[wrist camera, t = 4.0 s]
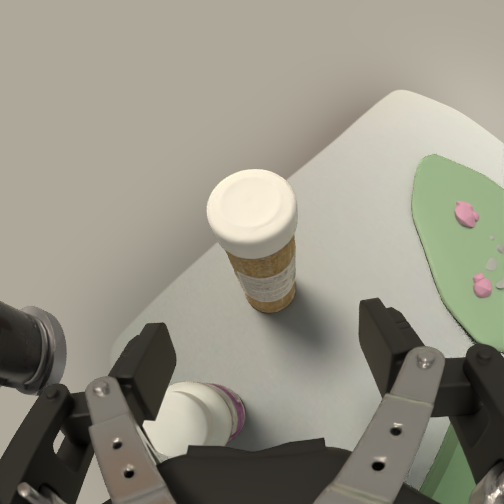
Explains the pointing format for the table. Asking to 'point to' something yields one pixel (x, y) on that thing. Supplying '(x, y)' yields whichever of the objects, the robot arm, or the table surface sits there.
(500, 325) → the plant
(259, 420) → the table surface
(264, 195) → the sprinkles bottle
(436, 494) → the green tray
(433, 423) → the table surface
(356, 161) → the table surface
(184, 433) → the pill bottle
